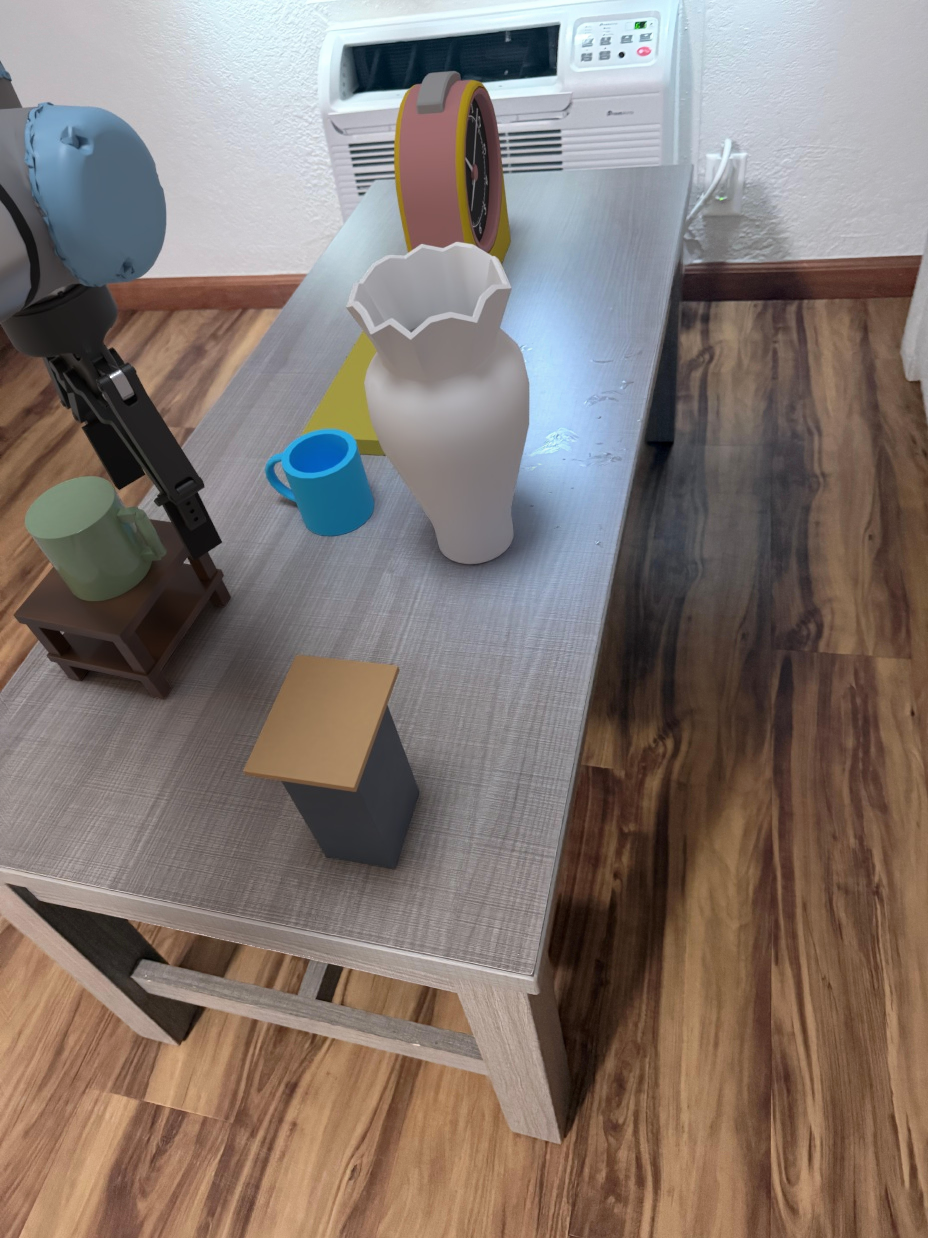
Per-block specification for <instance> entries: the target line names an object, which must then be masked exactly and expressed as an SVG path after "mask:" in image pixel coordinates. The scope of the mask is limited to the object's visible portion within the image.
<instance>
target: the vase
mask: <svg viewBox="0 0 928 1238" xmlns="http://www.w3.org/2000/svg"><path fill="white" fill-rule="evenodd" d="M511 293H512V284H511V283H510V281H509V278H508V276H507V273H506V271H505V269H504V267H503V264H502V265H501V263H500V261H499V259H498V258H496V257H495V256H491V255H490V254H488V253H486V252H485V251H483V250H481V249H480V248H478V247H476V246H475V245H473V244H467V243H461V242H455V243H453V244H451V245H449V246H447V247H445V248H439V247H434V246H429V245H424V244H421V245H419V246H418V247H416V248H415V249H413V250H412V251H410V252H409V253H408V252H407V253H405V254H404V255H400V254H399V255H398V254H386V255H384V256H383V257H381V258H380V259H378V260H376V261H374V262H373V263H372V264H371V265H370V266H369V267H368V269H367V270H366V272H365V273H364V274H363V275H362V277H360V279H359V281H355V282H353V284H352V286H351V290H350V294H349V297H348V299H347V303H346V307H345V309H346V310H347V311H348V313H349V314H350V315H351V317H352V318H353V319H354V321H355V322H356V323H357V324H358V326H359V327H360V329H361V330H362V331H364V332H365V334H366V335H367V336H368V338H369V339H370V340H371V342H372V343H373V345H374V347H375V349H376V351H377V352H376V354H375V355H374V357H373V358H372V360H371V362H370V365H369V367H368V369H367V372H366V376H365V381H364V385H365V391H366V398H367V404H368V410H369V415H370V419H371V423H372V426H373V428H374V431H375V433H376V436H377V438H378V440H379V443H380V445H381V448H382V450H383V452H384V453H385V455H386V456H385V455H384V456H385V457H386V458H387V459H388V460H389V462H390V463H391V465H392V466H393V468H394V470H395V471H396V473H397V474H398V475H399V477H400V478H401V480H402V481H403V483H404V484H405V486H406V487H407V488H408V490H409V492H410V493H411V494H412V496H413V497H414V499H415V500H416V502H417V503H418V505H419V507H420V508H421V509H422V510H423V512H424V514H425V515H426V516H427V518H428V520H429V521H430V522H431V524H432V527H433V528H434V529H433V530H434V532H435V537H436V541H437V545H438V548H439V551H440V552H441V553H442V554H443V556H445V558H446V559H448V560H450V561H453V562H455V563H458V564H463V565H464V564H465V565H474V564H475V565H478V564H482V563H486V562H490V561H492V560H494V559H497V558H498V557H500V556H501V555H502V554H504V553H505V552H506V551H507V550H508V548H509V547H510V546H511V545H512V543H513V539H514V524H513V523H514V522H513V517H512V516H513V515H512V506H513V502H514V497H515V492H516V487H517V483H518V478H519V473H520V470H521V469H520V468H521V464H522V459H523V455H524V450H525V446H526V442H527V441H526V440H527V437H528V432H529V428H530V380H529V375H528V370H527V367H526V362H525V358H524V354H523V352H522V350H521V348H520V345H519V344H518V343H517V342H516V340H514V339H513V338H512V337H511V336H510V335H509V334H508V333H506V331H504V330H503V329H502V328H501V325H502V322H503V319H504V315H505V312H506V309H507V306H508V302H509V299H510V296H511Z"/></svg>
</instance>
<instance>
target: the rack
mask: <svg viewBox="0 0 928 1238" xmlns="http://www.w3.org/2000/svg"><path fill="white" fill-rule="evenodd" d="M149 520H150V521H151V523H152V525H153V527H154V528H155V530H156V532H157V534H158V536H159V537H160V539H161V541H162V543H163V544H164V546H165V548H166V555H165V556H164V557H162V559H161V560H157V561H152V564H151V567H150V569H149V571H148V573H147V574H146V576H145V577H144V578H143V579H142V580H141V581H140V582H139V583H138V584H137V585H136V586H135V587H133V588H132V589H131V590H129V591H127V592H126V593H124V594H122V595H120V596H117V597H115V598H112V599H108V600H104V601H85V600H82V599H79V598H77V597H76V596H75V595H73V593H72V592H71V591H70V589H69V588H68V587H67V585H66V584H65V582H64V581H63V580H62V578H61V577H60V575H59V574H58V573H57V571H56V570H55V568H54V567H53V566H52V567H51V569H50V570H49V571H48V572H47V573H46V574H45V576H44V577H43V578H42V579H41V581H40V582H39V583H38V585H36V587H35V588H34V589H33V590H32V592H31V593H30V594H29V595H28V596H27V597H26V599H25V600H24V601H23V602H22V603H21V605H20V606H19V607H18V608H17V609H16V611H15V612H14V613H13V614H12V615H13V617H14V618H15V620H16V621H17V622H18V623H19V624H22V625H25V626H26V627H27V628H28V629H29V630H30V632H31V633H32V634H33V635H34V636H35V638H36V639H37V640H38V642H40V644H41V645H42V647H43V648H44V649H45V650H46V651H47V654H46V655H45V657H47V659H48V660H49V661H50V662H51V663H55V664H57V665H58V666H59V668H60V669H61V670H62V671H63V673H64V674H65V675H66V676H67V678H68V679H69V680H75V681H77V682H78V681H79V682H82V681H83V679H84V678H85V677H86V675H87V674H88V673H89V671H92V672H97V673H103V674H107V675H112V676H116V677H121V678H124V679H125V678H126V679H130V680H135V681H139V682H140V683H142V685H143V686H144V688H145V689H146V690H147V692H148V693H149V695H150V697H152V698H156V699H161V700H165V699H166V698H167V697H168V695H169V693H170V692H171V690H172V688H173V686H172V685H171V684H170V682H169V680H168V679H167V678H166V676H165V675H164V673H163V672H162V669H163V668H164V667H165V665H166V664H167V662H168V661H169V659H170V658H171V656H173V655H172V654H173V653H174V652H175V650H176V649H177V648H178V646H179V645H180V643H181V641H182V640H183V639H184V637H185V636H186V634H187V632H188V631H189V630H190V628H191V626H192V624H194V622H195V620H196V619H197V617H198V616H199V614H200V613H201V611H202V610H203V608H204V607H205V605H206V604H207V603H208V601H209V600H210V602H211V604H212V605H213V606H216V607H217V606H218V607H222V608H226V606H227V605H228V603H229V601H230V600H231V598H232V595H231V594H230V592H229V590H228V588H227V586H226V584H225V582H224V580H223V578H224V577H225V574H224V572H223V570H222V569H221V568H217V567H216V565H215V562H214V560H213V558H212V557H211V554H210V553H209V552H207V553H205V554H204V555H202V556H201V557H199V558H198V559H196V560H195V561H194V560H193V559H192V558H191V557H190V556H189V555H188V553H187V551H186V549H185V547H184V545H183V543H182V541H181V540H180V538H179V536H178V534H177V532H176V530H175V528H174V526H173V525H172V523H171V521H166V520H161V519H152V518H149ZM134 523H135V522H134ZM135 524H136V523H135ZM136 526H137V525H136ZM137 528H138V527H137ZM139 531H140V530H139ZM140 533H141V532H140ZM142 536H143V535H142ZM143 538H144V537H143ZM144 540H145V539H144ZM146 543H147V542H146ZM147 545H148V544H147ZM186 560H187V561H188V562H189V563H185V561H186Z"/></svg>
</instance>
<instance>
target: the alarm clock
mask: <svg viewBox="0 0 928 1238" xmlns="http://www.w3.org/2000/svg"><path fill="white" fill-rule="evenodd" d="M498 127H499V126H498V120H497V117H496V112H495V108H494V104H493V101H492V98H491V96H490V94H489V90H488V89H487V88H486V86H485V85H484V83H482V82H481V81H479V80H475V79H465V80H462V78H461V74H460V73H459V72H458V71H456V70H449V71H437V72H430V73H427V74H426V75H425V76H424V78H423V79H422V82H421V83H417V84H414V85H412V86H411V87H410V88H408V89H407V91H406V92H405V93H404V95H403V98H402V100H401V102H400V104H399V108H398V113H397V117H396V123H395V132H394V142H393V143H394V145H393V146H394V149H393V160H394V161H393V167H394V168H393V170H394V181H395V192H396V198H397V204H398V205H397V206H398V211H399V216H400V220H401V225H402V230H403V235H404V240H405V245H406V250H407V253H409V252H410V251H412V250H413V249H415V248H416V247H418V246H419V245H421V244H424V245H429V246H434V247H439V248H445V247H447V246H449V245H451V244H453V243H455V242H461V243H467V244H473V245H475V246H476V247H478V248H480V249H481V250H483V251H485V252H486V253H488V254H490V255H491V256H495V257H496V258H498V259H499V261H500V263H501V265H502V266H503V262H504V259H505V257H506V254H507V253H508V249H509V247H510V245H511V242H512V239H511V233H510V232H511V231H510V223H509V222H510V221H509V213H508V204H507V196H506V195H507V194H506V185H505V177H504V169H503V168H504V167H503V159H502V150H501V140H500V134H499V128H498Z"/></svg>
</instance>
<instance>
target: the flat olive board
mask: <svg viewBox="0 0 928 1238" xmlns="http://www.w3.org/2000/svg"><path fill="white" fill-rule="evenodd" d="M376 352H377V351H376V349H375V347H374V345H373V343H372V342H371V340H370V339H369V338H368V336H367V335H366V334H365V332H364V331H363V330H362V331H361V333H360V334H359V337H358V338H357V340H356V341H355V343H354V345H353V347H352V348H351V349H350V352H349V353H348V355H347V357H346V358H345V360H344V362H343V363H342V365H341V367H340V369H339V370H338V372H337V373H336V375H335V376H334V378H333V380H332V381H331V383H330V385H329V387H328V389H327V391H326V392H325V394H324V396H323V397H322V399H321V400H320V402H319V404H318V405H317V407H316V409H315V411H314V412H313V414H312V415H311V417H310V419H309V421H308V422H307V423H306V425H305V427H304V429H303V430H302V432H301V433H300V436H302V435H305V434H307V433H310V432H312V431H317V430H322V429H338V430H342V431H345V432H347V433H349V434H350V435H352V436H353V438H354V439H355V441H356V443H357V446H358V450H359V453H360V455H368V456H385V457H387V456H386V455H385V453H384V452H383V450H382V448H381V445H380V443H379V440H378V438H377V436H376V433H375V431H374V428H373V426H372V423H371V419H370V415H369V410H368V404H367V398H366V391H365V385H364V381H365V376H366V372H367V369H368V367H369V365H370V362H371V360H372V358H373V357H374V355H375V354H376Z"/></svg>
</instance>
